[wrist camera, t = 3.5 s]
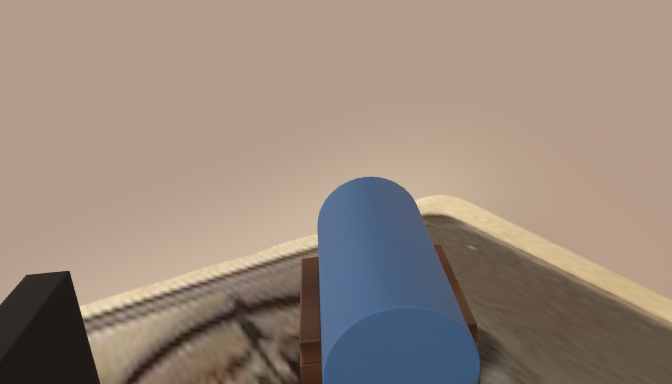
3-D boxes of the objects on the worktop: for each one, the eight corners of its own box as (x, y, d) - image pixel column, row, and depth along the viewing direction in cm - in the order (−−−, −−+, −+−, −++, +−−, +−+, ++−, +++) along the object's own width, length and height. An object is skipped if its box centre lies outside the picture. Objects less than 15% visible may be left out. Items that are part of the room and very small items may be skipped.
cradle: (480, 435, 30) (479, 323, 27) (311, 453, 30) (296, 342, 27) (446, 338, 37) (442, 243, 35) (311, 352, 37) (299, 258, 35)
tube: (481, 430, 23) (480, 298, 21) (330, 445, 23) (314, 315, 21) (422, 264, 35) (417, 171, 33) (323, 275, 35) (312, 181, 33)
